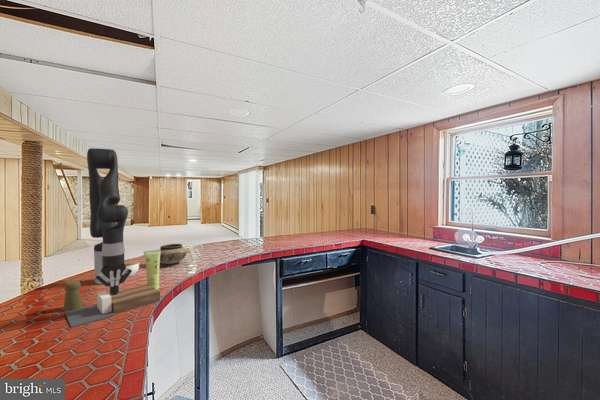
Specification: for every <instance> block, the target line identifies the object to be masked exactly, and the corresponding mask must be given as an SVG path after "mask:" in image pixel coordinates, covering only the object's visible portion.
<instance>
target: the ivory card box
mask: <svg viewBox="0 0 600 400" xmlns="http://www.w3.org/2000/svg"><path fill="white" fill-rule="evenodd" d="M109 294H110V293H108V291H106V290H104V291H101V292H97V293H96V304H97V308H98V309H99V310H100V312H101V313H102V314H104V313H108V312H111V311H112V305H111V296H110V295H109Z"/></svg>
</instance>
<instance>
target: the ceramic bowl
mask: <svg viewBox="0 0 600 400" xmlns="http://www.w3.org/2000/svg"><path fill="white" fill-rule="evenodd" d="M154 250H161V253H160V263H162V264H163V266H165V267H175V266H178V265H180V263H181V261H182V260H184V259H185V257H186V256H187V254H188V253H191V252H192V249H190V248H185V247H183V244H181V243H169V244H163V245H161V246H160V248H158V249H152V251H154Z"/></svg>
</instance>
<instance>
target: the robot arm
mask: <svg viewBox="0 0 600 400" xmlns="http://www.w3.org/2000/svg"><path fill="white" fill-rule="evenodd" d="M86 161H87V169H88V171H87V172H88V181H89V184H88V185H89V186H88V188H89V189H88V190H89V193H88V196H89V209H90V210H89V211H90V217H89V219H90V220H89V221H90V222H89V233H90V237H92V238H95V239H97V238H98V239H99V238H102V242H99V243H96V244H95V245H94V246H93V261H94V269H93V270H94V271H93V272H94V284H97V285H102V284H103V286H105V287H109V294H112V295H117V293H118V292H120V287H119V285H121V284H123V283H124V282H125V281H126V280H127V278H128V277H130V276H129V274H130V273H131V272H132V270H130V269H127V268H126V266H125V261H124V260H125V244H124V231H125V230H124V229H125V225H126V222H127V219H128V216H129V210H128V207H126V206H125V205H122V204H119V203H120V201H121V195H120V190H119V169H118V168H119V167H118V166H119V165H118V164H119V163H118V161H119V160H118V155H117V152H116V151H115V150H114V149H110V148H97V147H93V148H88V149H87V153H86ZM100 169H101V170H109V171H108V172H107V174H106V175H105V176H104V178H102V176H101V175H100V173H99V171H98V170H100ZM117 204H118V205H117ZM124 270H125V271H124ZM123 272H124V274H123V275H121V274H122V273H123Z"/></svg>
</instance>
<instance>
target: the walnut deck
mask: <svg viewBox="0 0 600 400" xmlns="http://www.w3.org/2000/svg"><path fill="white" fill-rule="evenodd" d="M108 294H109V295H110V296H111V305H112V311H113V312H114V314H115V315H116V314H120V313H123V312H126V311H129V310H134V309H137V308H140V307H144V306H147V305H150V304H154V303H157V302H160V301H161V292H160V291H159V289H157V290H156V289H155V288H153V287H152V286H150V285H147V284H146V285H145V284H144V285H142V286H137V287H133V288H129V289H124V290H121V291H120V290H119V292H118V293H117V295H112V294H110V293H108Z"/></svg>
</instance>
